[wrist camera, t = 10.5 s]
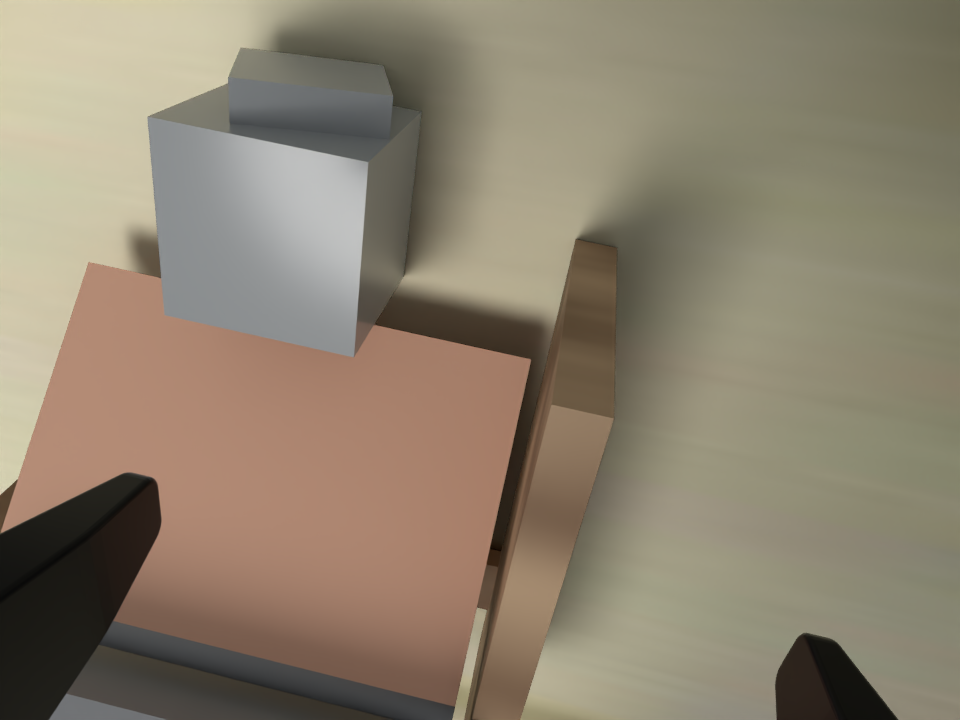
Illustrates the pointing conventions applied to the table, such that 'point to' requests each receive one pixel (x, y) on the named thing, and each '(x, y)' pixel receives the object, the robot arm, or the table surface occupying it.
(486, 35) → the table surface
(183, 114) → the slate block
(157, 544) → the trapdoor
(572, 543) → the frame
